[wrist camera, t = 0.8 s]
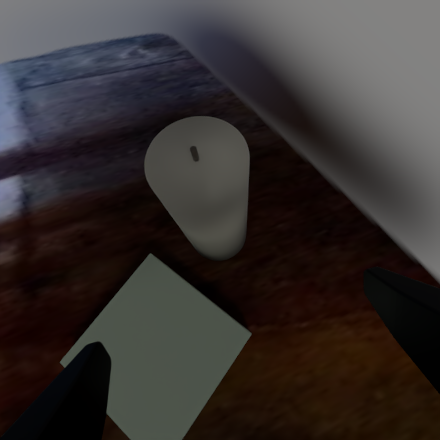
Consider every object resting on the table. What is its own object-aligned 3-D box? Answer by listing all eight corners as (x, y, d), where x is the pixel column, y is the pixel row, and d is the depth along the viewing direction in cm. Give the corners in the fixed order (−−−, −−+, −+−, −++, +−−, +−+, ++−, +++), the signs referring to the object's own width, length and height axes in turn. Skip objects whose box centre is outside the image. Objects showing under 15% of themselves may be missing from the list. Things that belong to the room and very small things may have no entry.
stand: (250, 332, 21) (251, 334, 19) (168, 455, 18) (160, 471, 16) (157, 258, 23) (150, 253, 21) (76, 358, 21) (59, 362, 19)
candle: (257, 227, 23) (272, 135, 11) (224, 272, 22) (202, 223, 10) (213, 197, 25) (185, 88, 13) (180, 239, 24) (115, 161, 12)
